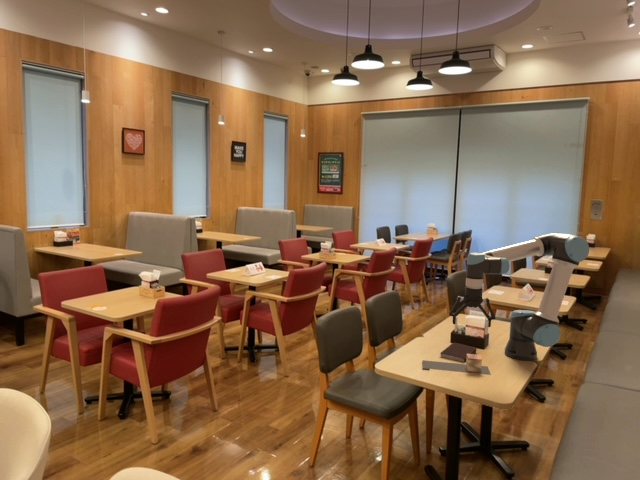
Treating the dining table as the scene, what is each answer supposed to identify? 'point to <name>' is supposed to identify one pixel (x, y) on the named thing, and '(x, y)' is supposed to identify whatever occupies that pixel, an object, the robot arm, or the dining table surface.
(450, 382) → the dining table surface
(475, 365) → the block
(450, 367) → the mat
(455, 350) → the book
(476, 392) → the dining table surface
